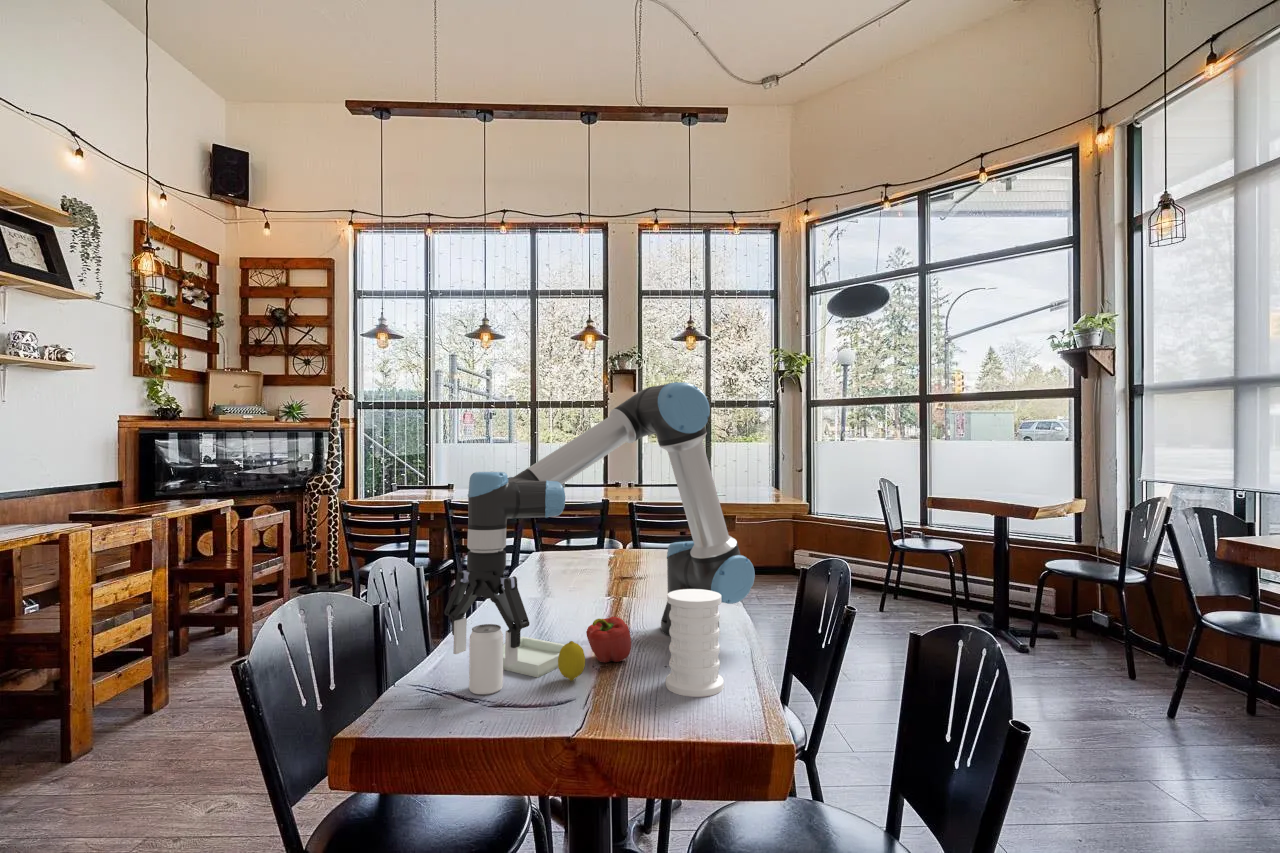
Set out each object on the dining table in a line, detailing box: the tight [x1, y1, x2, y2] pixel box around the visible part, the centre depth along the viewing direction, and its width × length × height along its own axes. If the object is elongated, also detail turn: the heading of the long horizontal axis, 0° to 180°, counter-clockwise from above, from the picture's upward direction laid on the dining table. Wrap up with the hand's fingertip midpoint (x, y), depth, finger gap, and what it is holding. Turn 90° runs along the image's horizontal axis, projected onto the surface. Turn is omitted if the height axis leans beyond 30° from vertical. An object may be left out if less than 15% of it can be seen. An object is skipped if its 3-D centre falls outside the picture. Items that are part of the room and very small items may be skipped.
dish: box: [503, 636, 565, 678], centre depth 141 cm, size 16×14×2 cm
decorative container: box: [665, 589, 725, 698], centre depth 126 cm, size 12×12×18 cm
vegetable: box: [585, 615, 632, 664], centre depth 141 cm, size 11×10×10 cm
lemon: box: [558, 640, 586, 682], centre depth 129 cm, size 6×6×8 cm
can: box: [468, 623, 504, 696], centre depth 124 cm, size 6×6×12 cm
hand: (484, 658), depth 124 cm, fingers open, 13 cm apart
